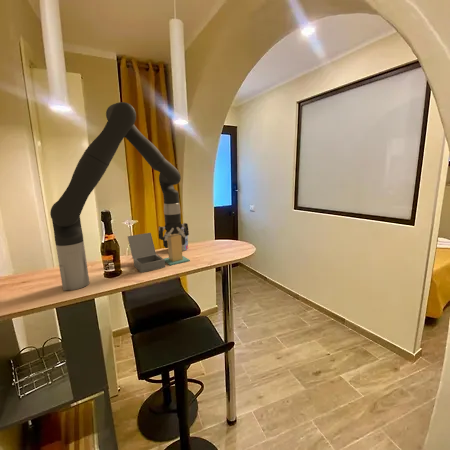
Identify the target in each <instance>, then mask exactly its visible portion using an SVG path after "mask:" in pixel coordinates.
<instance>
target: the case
mask: <svg viewBox="0 0 450 450" xmlns="http://www.w3.org/2000/svg"><path fill="white" fill-rule="evenodd" d="M132 259H133V258H132ZM133 266H134V267H135V268H136V269H137V270H138V271H139V273H145V272H149V271H150V272H151V271H155V270H158V269H162V268H166V262H165V259H164V257H162V256H160V255H158V254H157V253H156V254H154V255H149V256H144V257H139V258H134V259H133Z"/></svg>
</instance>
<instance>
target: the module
mask: <svg viewBox="0 0 450 450" xmlns="http://www.w3.org/2000/svg"><path fill="white" fill-rule="evenodd" d="M167 243H168V248H167V251H168V258H169V260H171V261H172V262H174V261H179V260H183V257H182V256H183V251H182V242H181V235H179V234H173V235H170V236H169V237H168V239H167Z"/></svg>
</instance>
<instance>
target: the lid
mask: <svg viewBox="0 0 450 450" xmlns="http://www.w3.org/2000/svg"><path fill="white" fill-rule="evenodd" d="M127 241H128V244H129V248H130V252H131V253H130V254H131V257H132V259H134V258H139V257H144V256H149V255H154V254H157V252H156V248H155V243H154V241H153V235H152V233H151V232H146V233H140V234H134V235H128V236H127Z"/></svg>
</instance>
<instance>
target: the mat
mask: <svg viewBox="0 0 450 450" xmlns="http://www.w3.org/2000/svg"><path fill="white" fill-rule="evenodd" d="M182 257H183V260H179V261H174V262H172V261H171V260H169V257H165V258H164V257H163V259H165V264H168V265H169V266H174V265H177V264H178V265H180V264H183V263H187V262H191V259H189V258H188V257H186V256H184V255H182Z"/></svg>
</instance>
